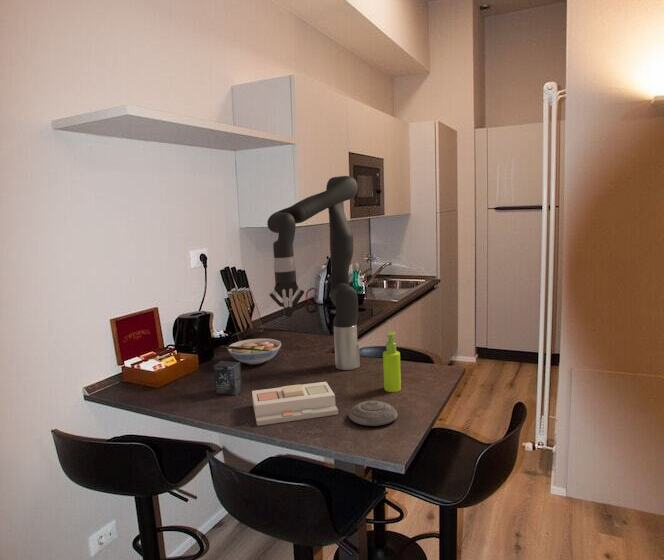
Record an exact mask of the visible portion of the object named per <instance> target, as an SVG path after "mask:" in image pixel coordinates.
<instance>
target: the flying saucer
mask: <svg viewBox="0 0 664 560" xmlns="http://www.w3.org/2000/svg"><path fill="white" fill-rule="evenodd" d="M347 416H348V418H349V420H350V421H352V422H354V423H355V424H358V425H362V426H370V427H373V426H374V427H375V426H376V427H377V426H383V425H388V424H390V423H392V422H393V421H395V420H396V419H397V418H398V416H399V415H398V412H397V410H396V408H394V406H392V405H391V404H389V403H387V402H384V401H380V400H366V401H362V402H359V403H357V404H355V405H353V407H352V408H351V409H350V410H349V412H348V415H347Z"/></svg>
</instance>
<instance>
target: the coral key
mask: <svg viewBox="0 0 664 560" xmlns="http://www.w3.org/2000/svg"><path fill="white" fill-rule="evenodd" d="M273 399H278V396H277V393H276V392H271V393H263V394H258V401H265V400H273Z"/></svg>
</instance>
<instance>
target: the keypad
mask: <svg viewBox="0 0 664 560" xmlns="http://www.w3.org/2000/svg"><path fill="white" fill-rule="evenodd" d="M300 385H301V387H302V389H303V396H296V397H288V398H283V395H282V387H283V386H280V387H274V388H267V389H266V388H264V389H256V390H252V391H251V394H252V395H251V396H252V406H253V411H254V412H253V413H254V417H255V423H256V426H265V425H272V424H279V423H287V422H292V421H293V422H294V421H301V420H308V419H315V418H320V417H321V418H322V417H329V416H335V415H339V408H338V407H337V406H336V395H335V392H334V391H333V390H332V388H331V387H330V385H329V384H328V382H327V381H321V382H313V383H312V382H311V383H305V384H300ZM318 386H324V387H325V389H326V390H327V392H326V393H319V394H311V395H308V393H307V391H306V388H310V387H318ZM271 392H276V393H277V396H278V399H273V400H265V401H258V394H263V393H271Z"/></svg>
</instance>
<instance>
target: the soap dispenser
mask: <svg viewBox="0 0 664 560" xmlns="http://www.w3.org/2000/svg"><path fill="white" fill-rule="evenodd" d="M396 333H397V332H396V331H388V333H387V334H386V335H387V336H386V337H388V341H387V342H385V346H386V348H385V349H386V351H383V352H382V365H383V390H384V391H385V392H388V393H397V392H399V391H401V390H402V381H401V380H402V376H401V375H402V374H401V352H400V351H398V350H397V342H395V341H394V336H395V334H396Z"/></svg>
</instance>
